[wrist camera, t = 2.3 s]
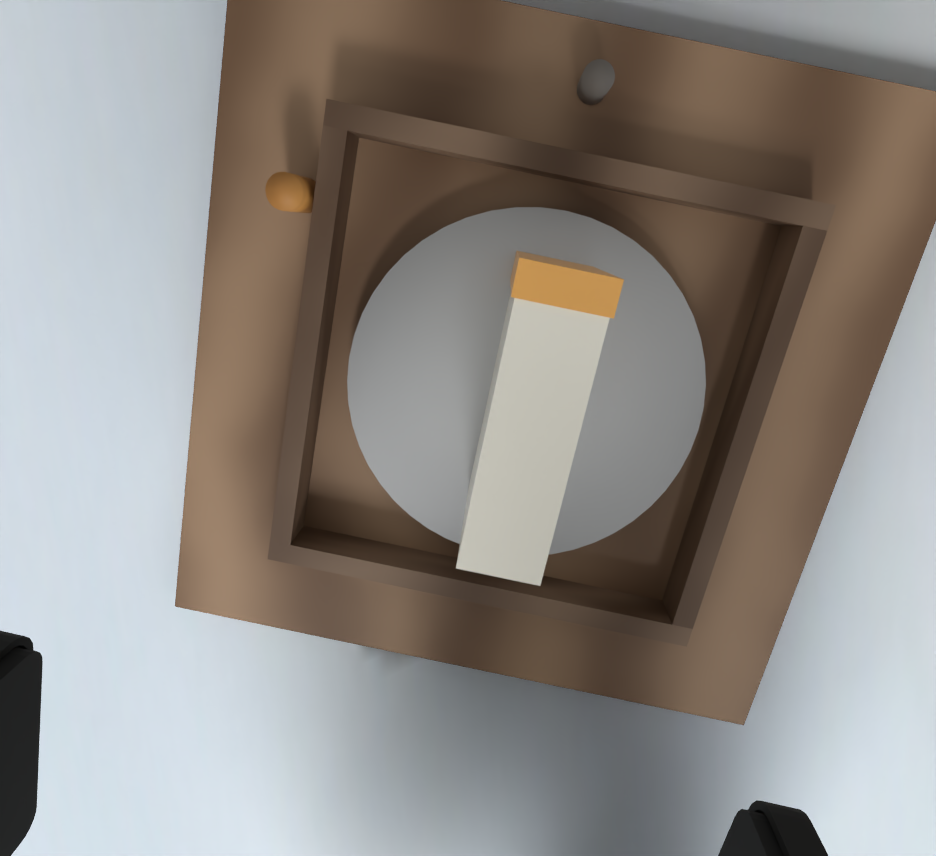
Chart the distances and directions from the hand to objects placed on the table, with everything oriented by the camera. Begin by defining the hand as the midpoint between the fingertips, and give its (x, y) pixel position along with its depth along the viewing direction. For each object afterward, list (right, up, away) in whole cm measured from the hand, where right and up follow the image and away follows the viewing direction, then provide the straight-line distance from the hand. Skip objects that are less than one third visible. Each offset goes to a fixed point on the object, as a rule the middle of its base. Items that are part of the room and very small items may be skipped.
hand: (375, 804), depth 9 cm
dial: (+3, +6, +17) cm, 18 cm away
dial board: (+3, +7, +18) cm, 20 cm away
